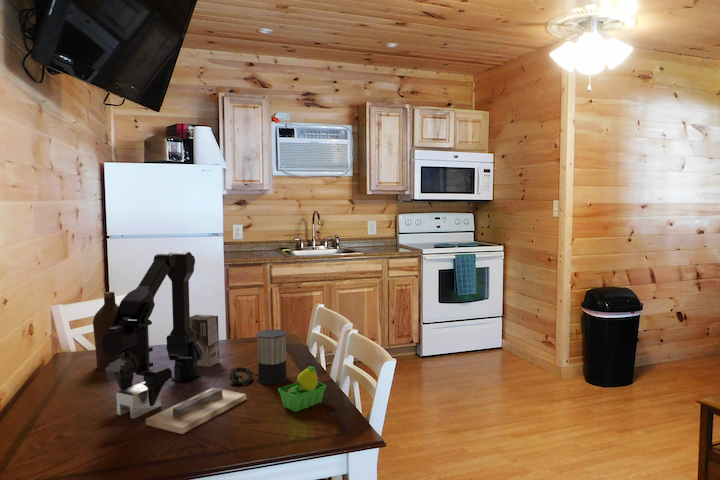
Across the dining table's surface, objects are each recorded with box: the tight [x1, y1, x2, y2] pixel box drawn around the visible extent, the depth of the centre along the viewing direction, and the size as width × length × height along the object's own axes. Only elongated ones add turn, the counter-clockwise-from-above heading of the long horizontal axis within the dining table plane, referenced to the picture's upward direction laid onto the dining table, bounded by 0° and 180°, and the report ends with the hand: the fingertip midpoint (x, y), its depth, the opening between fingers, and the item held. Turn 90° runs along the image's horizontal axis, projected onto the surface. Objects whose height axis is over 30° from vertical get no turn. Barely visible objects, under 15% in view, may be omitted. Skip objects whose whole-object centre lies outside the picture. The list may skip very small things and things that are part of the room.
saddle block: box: [116, 381, 162, 419], centre depth 139 cm, size 9×6×6 cm, turn 154°
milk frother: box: [228, 328, 288, 385], centre depth 160 cm, size 14×16×15 cm
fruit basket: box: [277, 365, 327, 413], centre depth 140 cm, size 11×9×11 cm
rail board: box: [145, 387, 247, 435], centre depth 137 cm, size 24×12×4 cm, turn 154°
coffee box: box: [190, 314, 220, 368], centre depth 178 cm, size 9×6×16 cm
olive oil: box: [92, 291, 125, 371], centre depth 176 cm, size 11×11×25 cm
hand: (139, 403), depth 139 cm, fingers open, 9 cm apart
